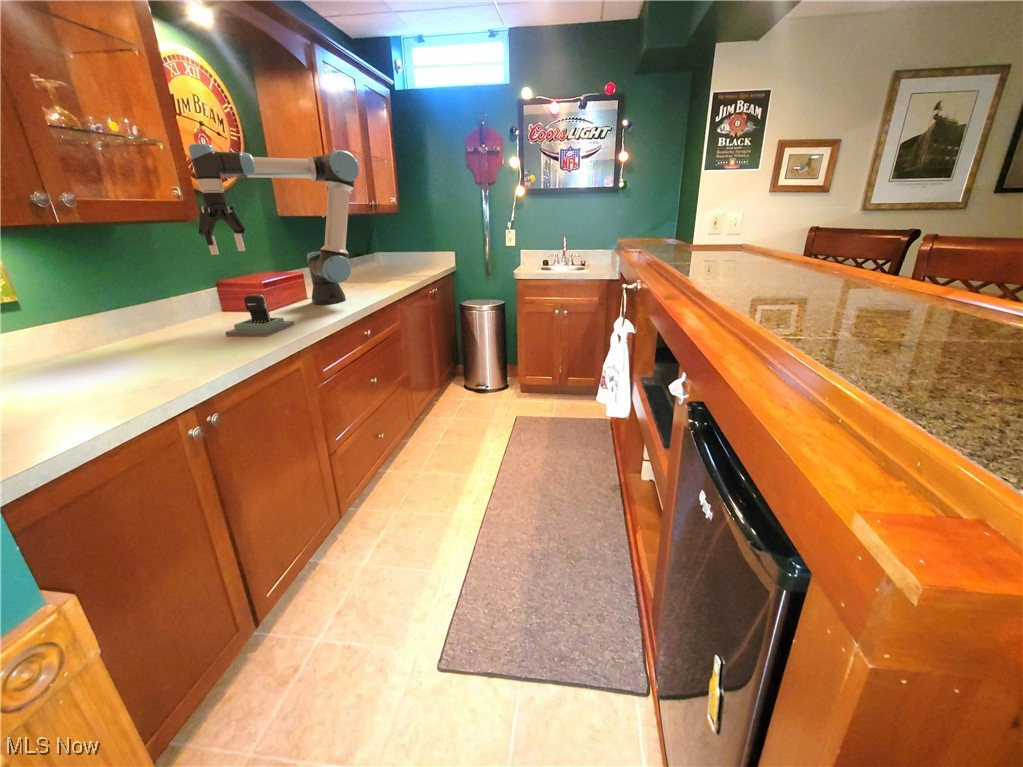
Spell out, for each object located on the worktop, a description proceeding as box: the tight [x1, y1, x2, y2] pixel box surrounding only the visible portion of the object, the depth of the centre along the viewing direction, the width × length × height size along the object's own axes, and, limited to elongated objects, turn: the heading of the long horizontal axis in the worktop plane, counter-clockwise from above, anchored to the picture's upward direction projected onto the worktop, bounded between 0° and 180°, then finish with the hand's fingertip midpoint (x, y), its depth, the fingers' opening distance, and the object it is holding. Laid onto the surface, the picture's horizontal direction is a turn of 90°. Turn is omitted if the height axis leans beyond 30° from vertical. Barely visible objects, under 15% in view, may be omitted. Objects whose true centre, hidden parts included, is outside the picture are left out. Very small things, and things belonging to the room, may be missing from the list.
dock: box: [224, 317, 295, 337], centre depth 161 cm, size 16×16×4 cm
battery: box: [243, 294, 271, 324], centre depth 159 cm, size 7×4×11 cm, turn 81°
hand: (229, 252), depth 167 cm, fingers open, 13 cm apart
